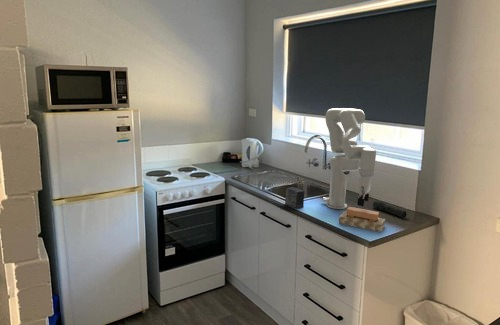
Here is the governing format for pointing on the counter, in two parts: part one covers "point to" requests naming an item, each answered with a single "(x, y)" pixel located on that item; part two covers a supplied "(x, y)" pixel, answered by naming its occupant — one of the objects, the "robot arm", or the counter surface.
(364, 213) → the tan wedge board
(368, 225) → the slotted tan block
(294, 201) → the small box
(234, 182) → the counter surface
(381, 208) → the flashlight
